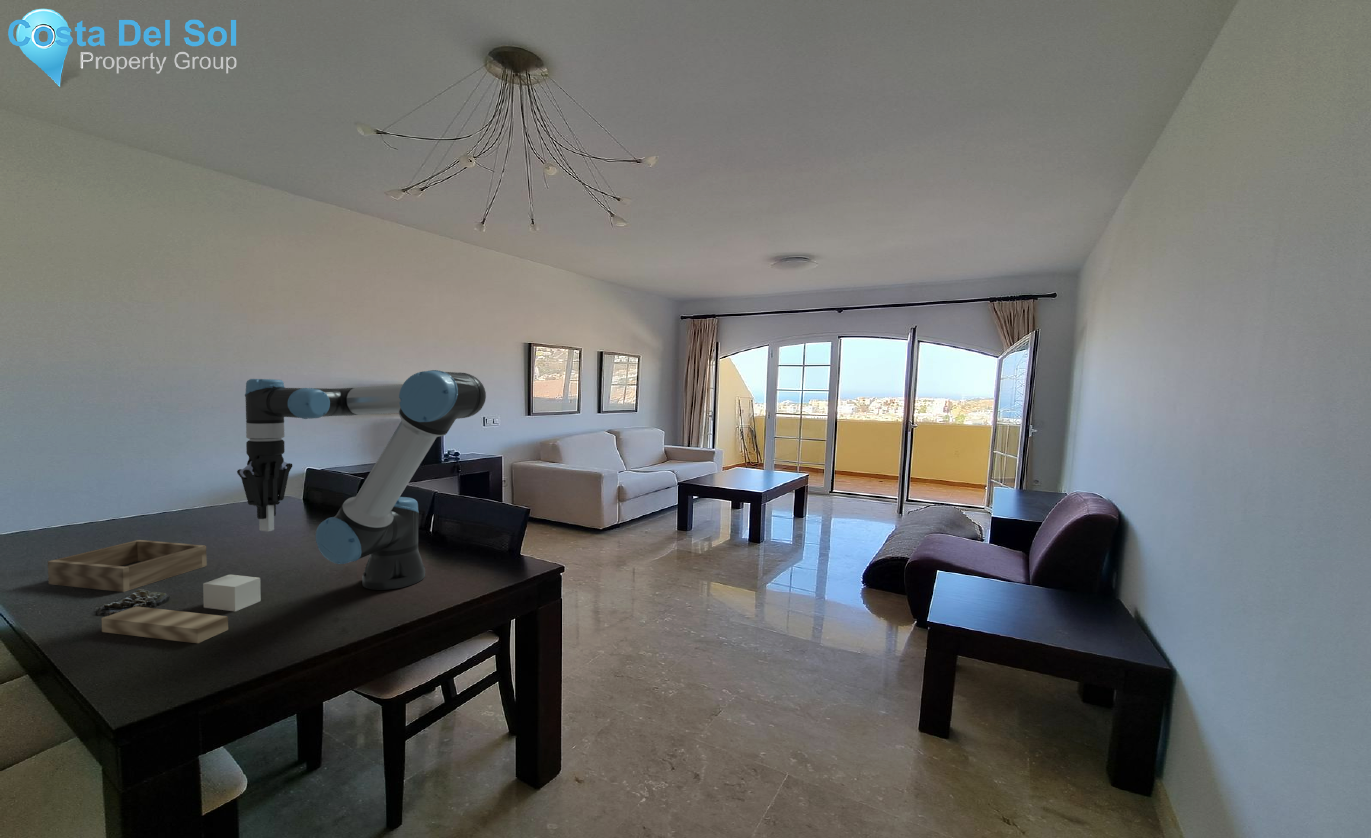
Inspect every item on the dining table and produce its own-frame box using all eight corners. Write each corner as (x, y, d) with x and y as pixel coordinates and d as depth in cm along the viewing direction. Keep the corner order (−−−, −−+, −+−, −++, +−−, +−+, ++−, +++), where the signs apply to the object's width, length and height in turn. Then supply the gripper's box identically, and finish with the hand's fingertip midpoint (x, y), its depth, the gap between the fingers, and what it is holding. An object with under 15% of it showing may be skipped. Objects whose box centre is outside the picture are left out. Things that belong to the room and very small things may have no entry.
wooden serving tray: (206, 565, 147) (206, 545, 147) (123, 591, 128) (122, 568, 127) (139, 559, 150) (138, 539, 150) (48, 584, 131) (47, 561, 131)
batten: (228, 629, 110) (227, 616, 110) (197, 643, 104) (197, 629, 104) (136, 619, 114) (135, 606, 113) (101, 631, 108) (101, 618, 108)
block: (260, 601, 125) (260, 577, 125) (235, 611, 119) (234, 586, 119) (230, 598, 127) (229, 574, 126) (203, 608, 121) (203, 583, 120)
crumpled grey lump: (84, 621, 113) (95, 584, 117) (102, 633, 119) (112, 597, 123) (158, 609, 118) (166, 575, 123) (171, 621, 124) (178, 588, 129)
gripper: (276, 436, 136) (277, 522, 138) (226, 441, 124) (228, 536, 125) (301, 437, 135) (302, 524, 137) (253, 442, 123) (254, 538, 124)
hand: (266, 530), depth 131 cm, fingers closed
